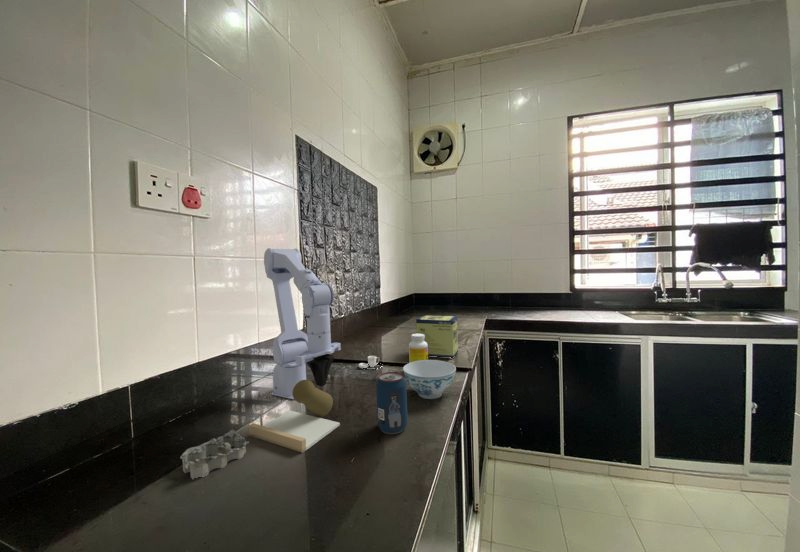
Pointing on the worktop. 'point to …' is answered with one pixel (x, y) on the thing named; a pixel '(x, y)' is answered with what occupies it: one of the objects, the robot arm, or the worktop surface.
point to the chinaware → (429, 377)
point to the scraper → (294, 430)
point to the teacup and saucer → (370, 362)
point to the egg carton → (221, 447)
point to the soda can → (391, 402)
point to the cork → (313, 398)
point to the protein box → (439, 334)
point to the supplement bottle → (418, 348)
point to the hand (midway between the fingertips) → (321, 384)
